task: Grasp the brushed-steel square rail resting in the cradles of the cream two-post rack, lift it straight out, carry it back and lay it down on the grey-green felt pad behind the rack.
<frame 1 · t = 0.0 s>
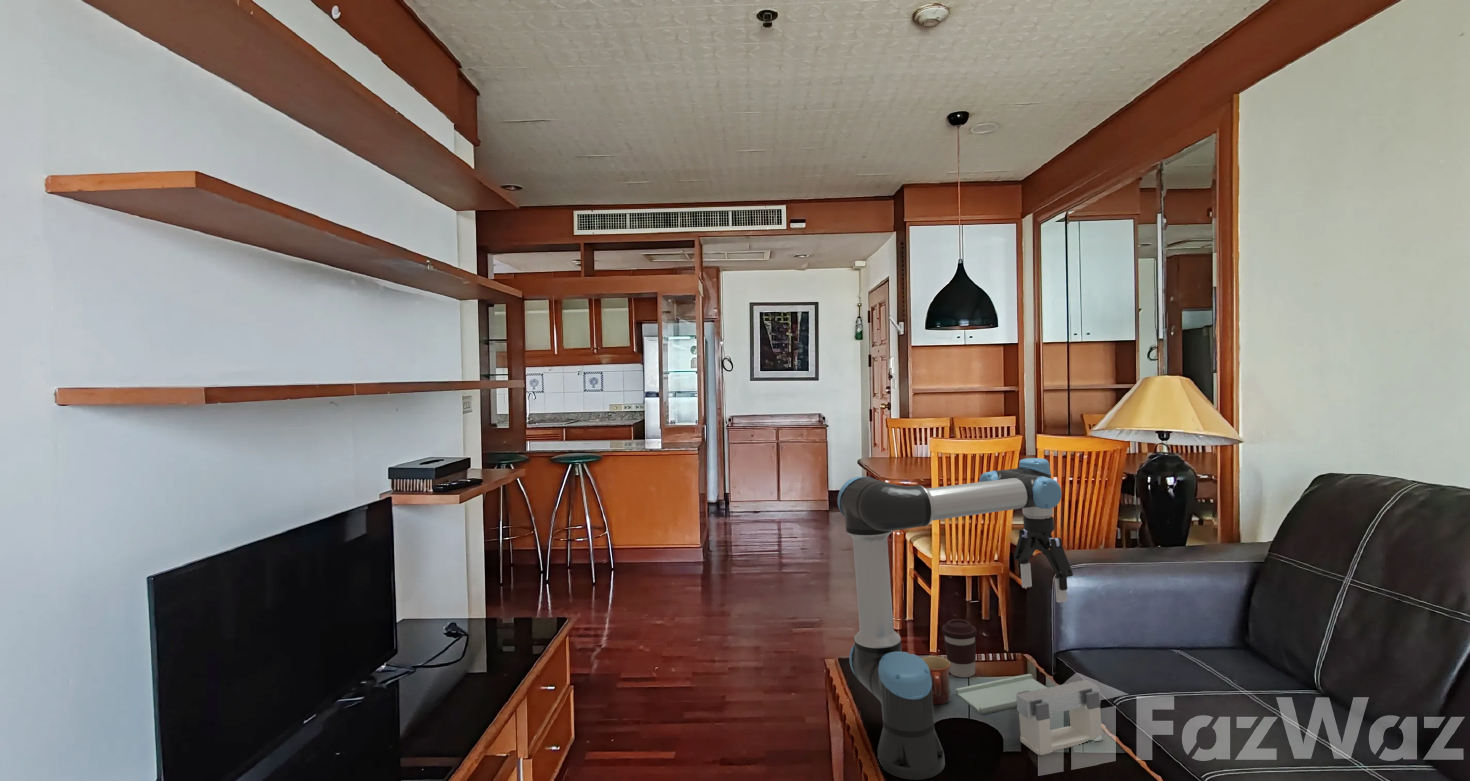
hand: (1043, 593, 177), 28 cm above the table, fingers open, 13 cm apart
rail: (1058, 706, 157), point 8 cm above the table, touching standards
coffee cup: (962, 673, 196), on the table
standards: (1061, 739, 157), on the table
pad: (1007, 695, 180), on the table
mug: (937, 702, 179), on the table
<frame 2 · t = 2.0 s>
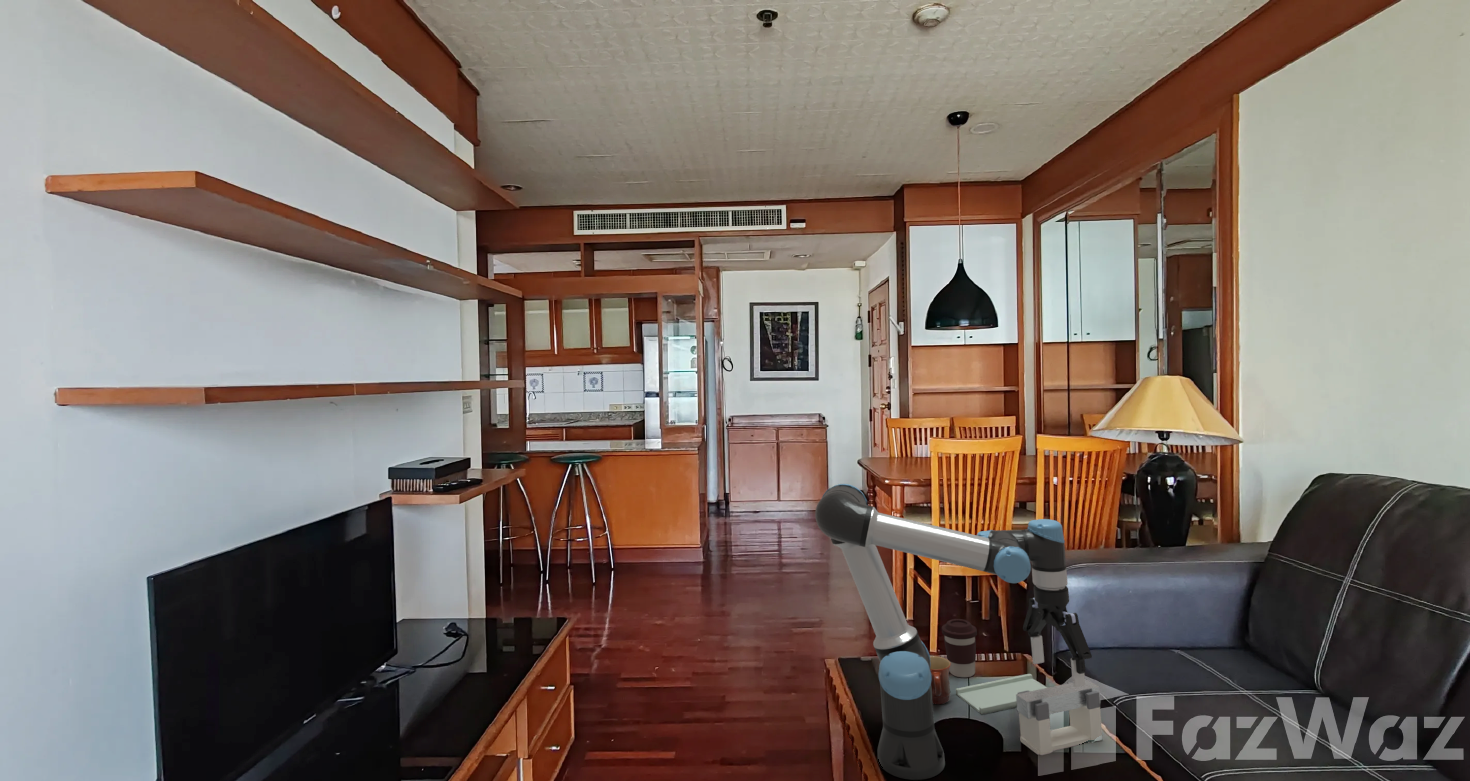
hand: (1058, 673, 157), 16 cm above the table, fingers open, 13 cm apart
nothing on the table moved.
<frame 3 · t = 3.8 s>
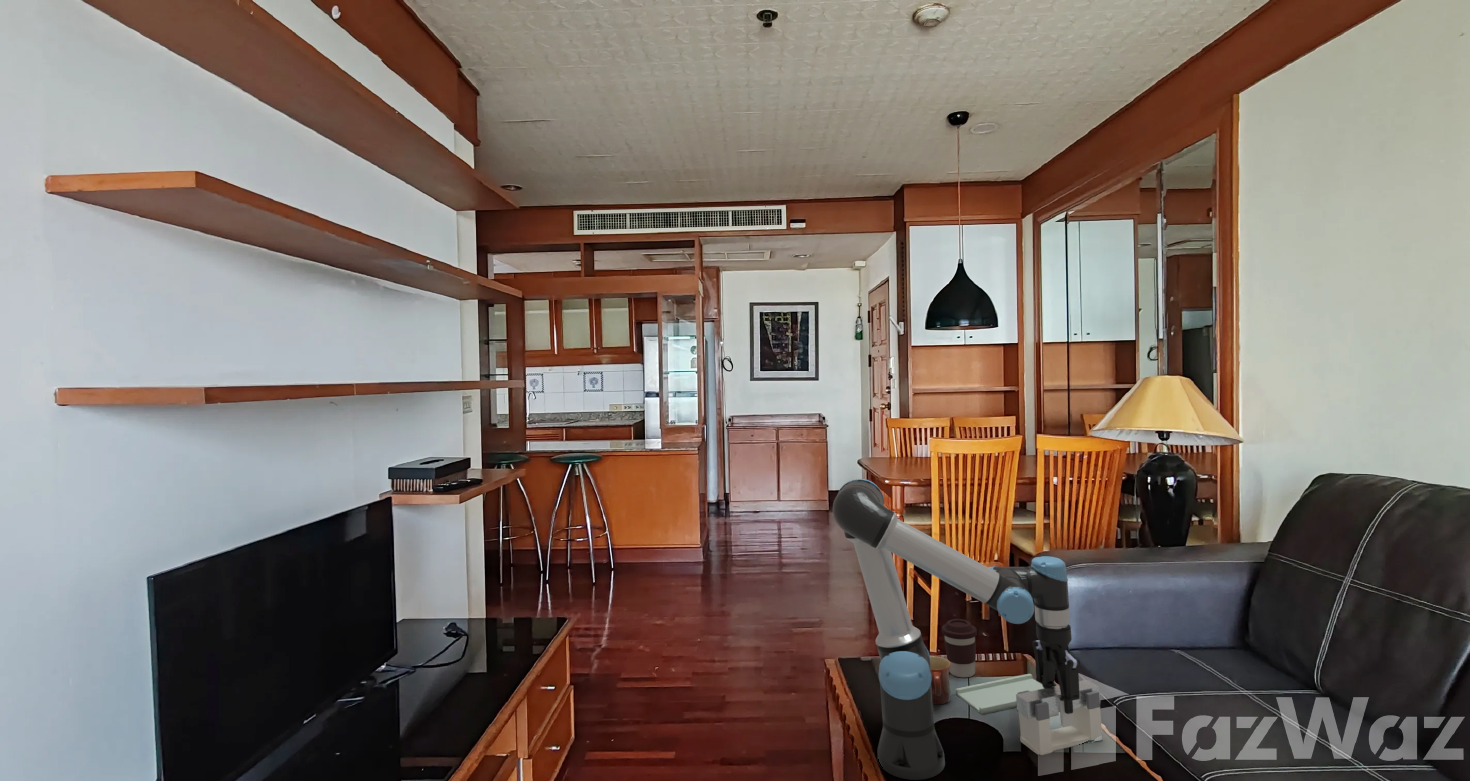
hand: (1059, 719, 157), 5 cm above the table, fingers closed on rail, 4 cm apart
rail: (1058, 706, 157), point 8 cm above the table, touching gripper, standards
everything else where it was.
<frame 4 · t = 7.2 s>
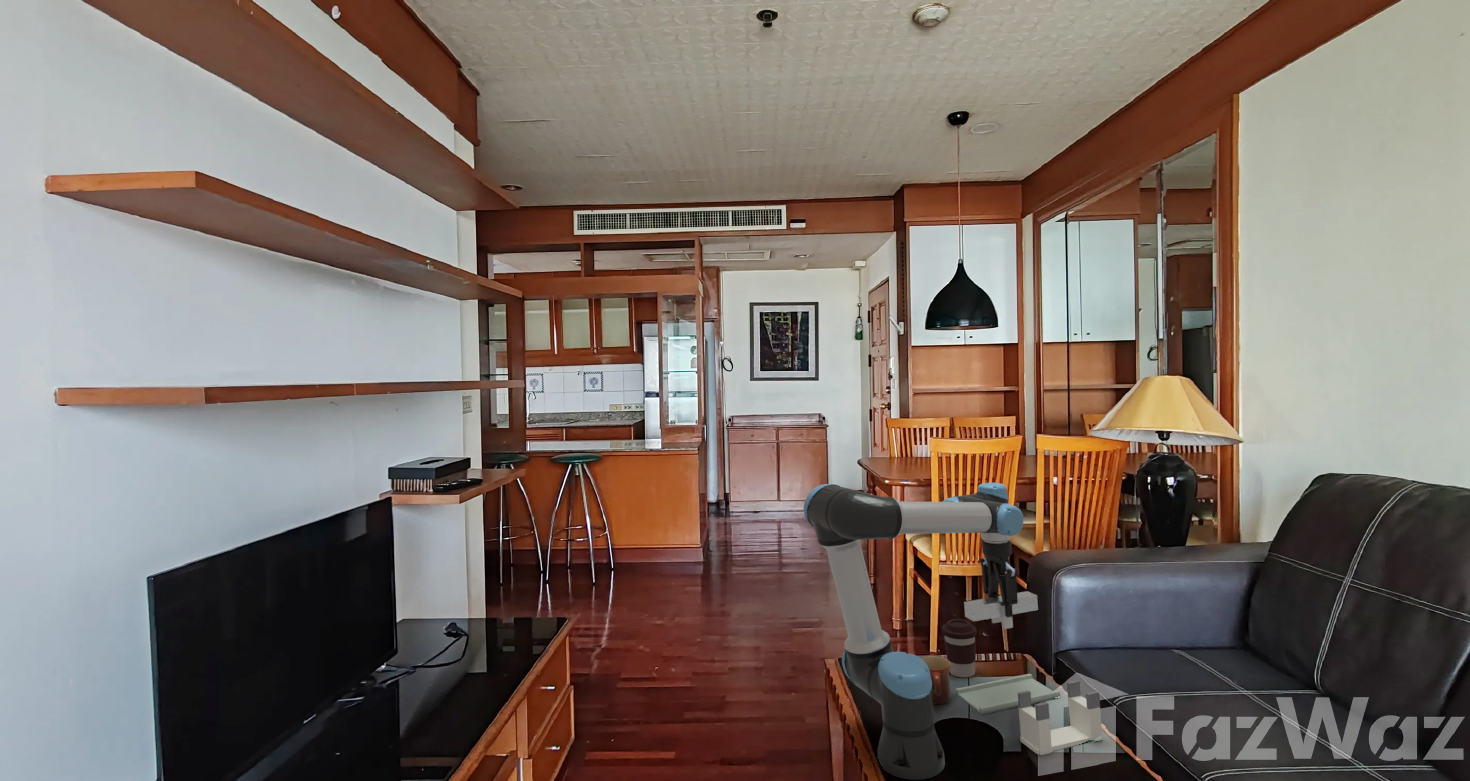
hand: (1002, 624, 180), 20 cm above the table, fingers closed on rail, 4 cm apart
rail: (1001, 613, 180), point 23 cm above the table, touching gripper
everything else where it was.
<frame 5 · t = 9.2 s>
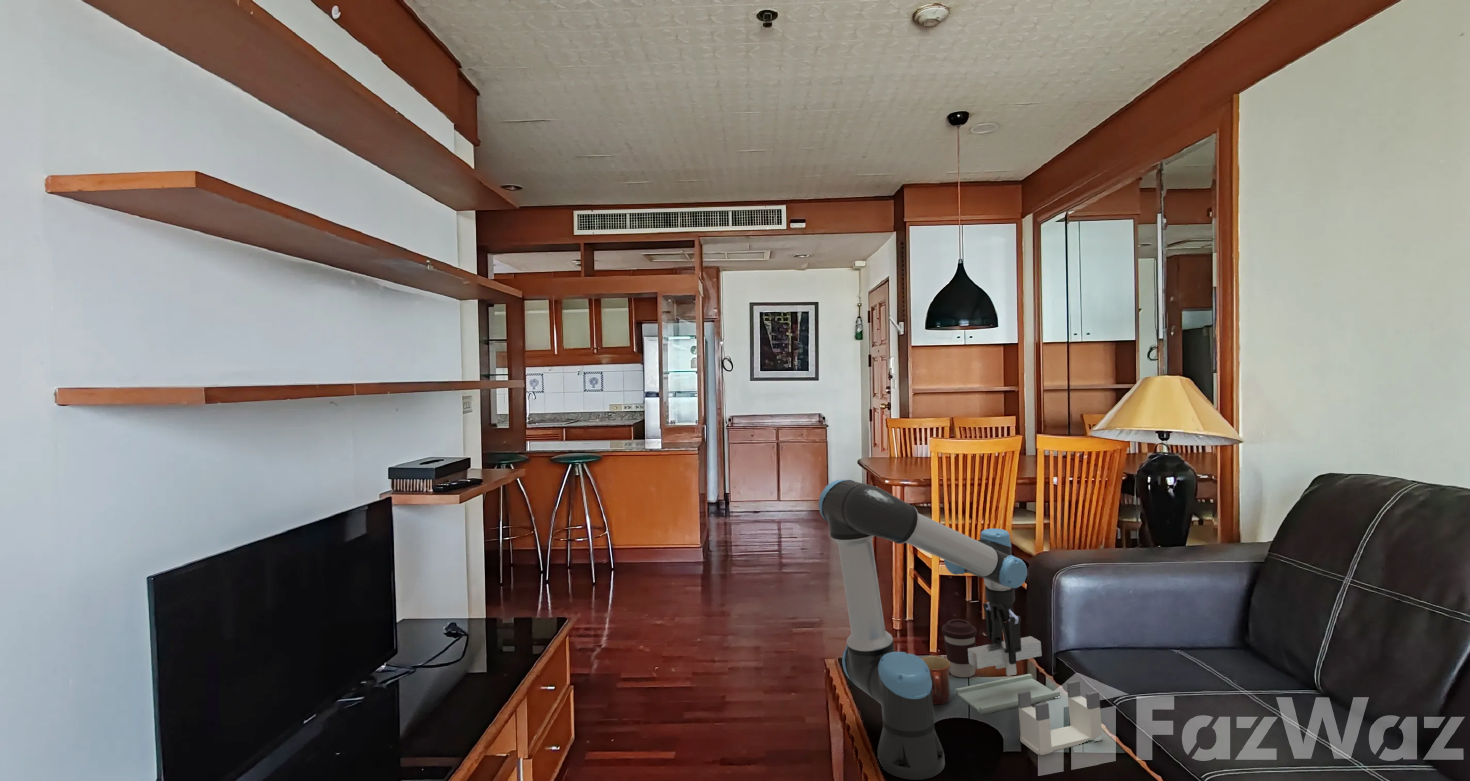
hand: (1005, 670, 180), 7 cm above the table, fingers closed on rail, 4 cm apart
rail: (1005, 659, 180), point 10 cm above the table, touching gripper
everything else where it was.
when the fingers open (1 cm above the table, at t = 10.7 s): rail drops 4 cm, resting on pad.
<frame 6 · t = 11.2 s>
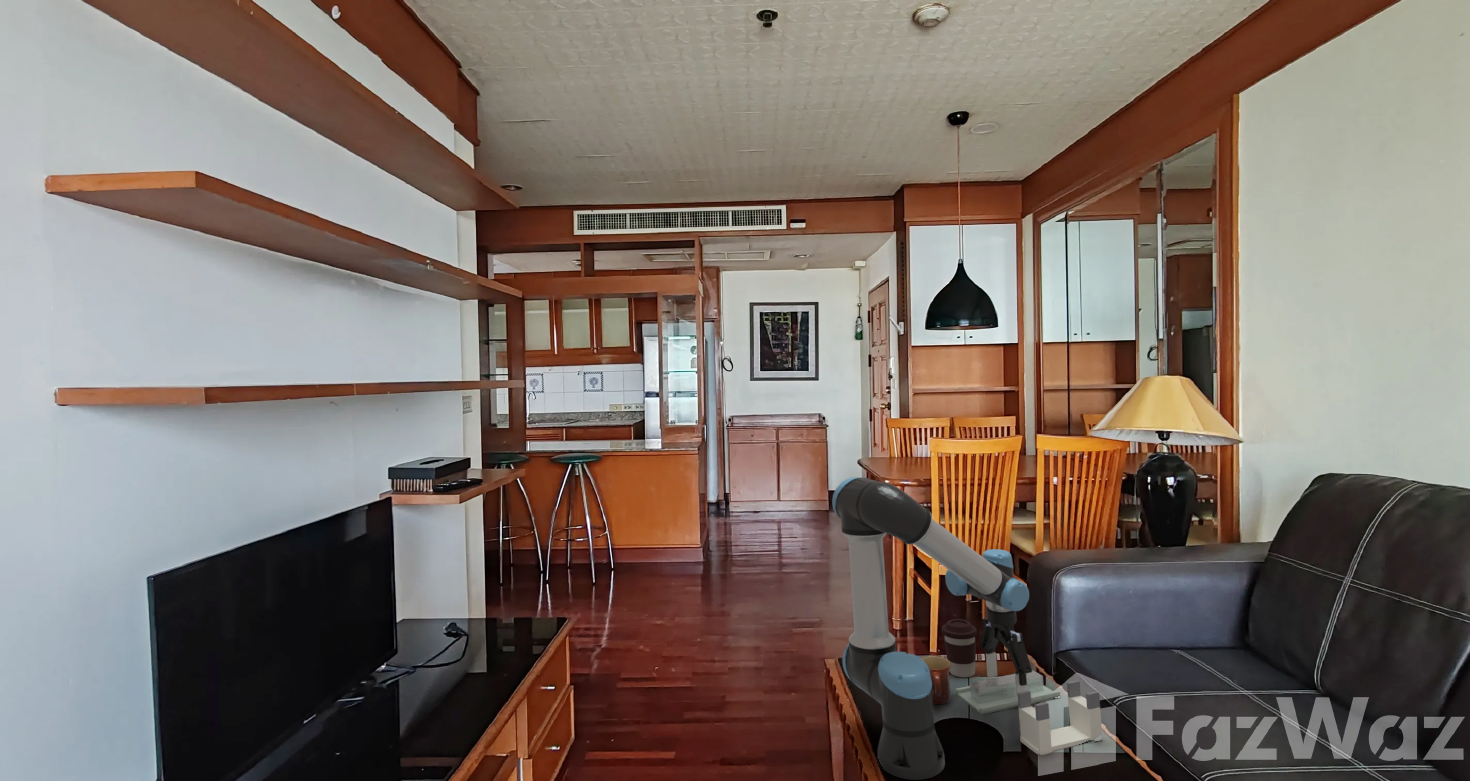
hand: (1006, 685, 180), 3 cm above the table, fingers open, 12 cm apart
rail: (1007, 693, 180), point 1 cm above the table, touching pad
everything else where it was.
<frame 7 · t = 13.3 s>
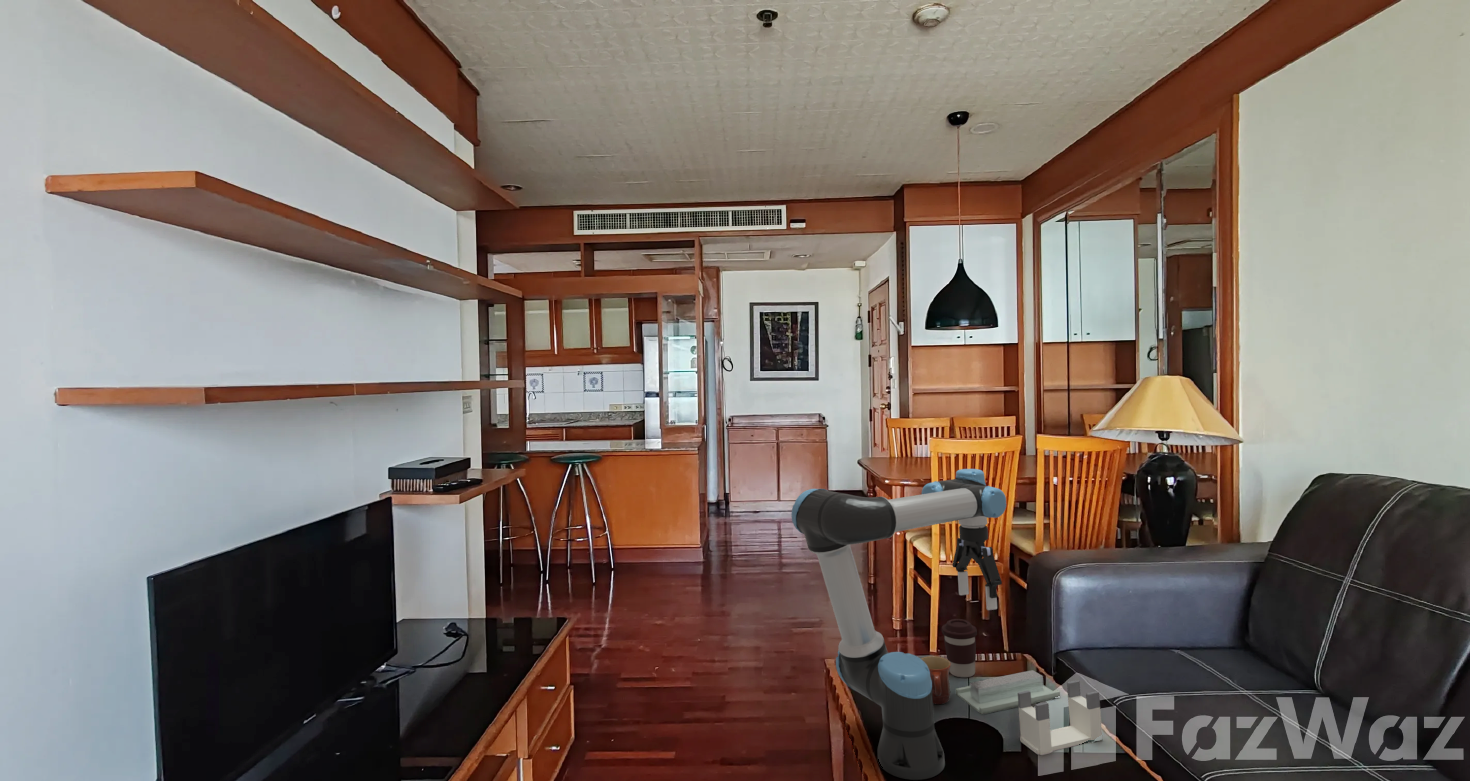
hand: (977, 601, 182), 26 cm above the table, fingers open, 13 cm apart
nothing on the table moved.
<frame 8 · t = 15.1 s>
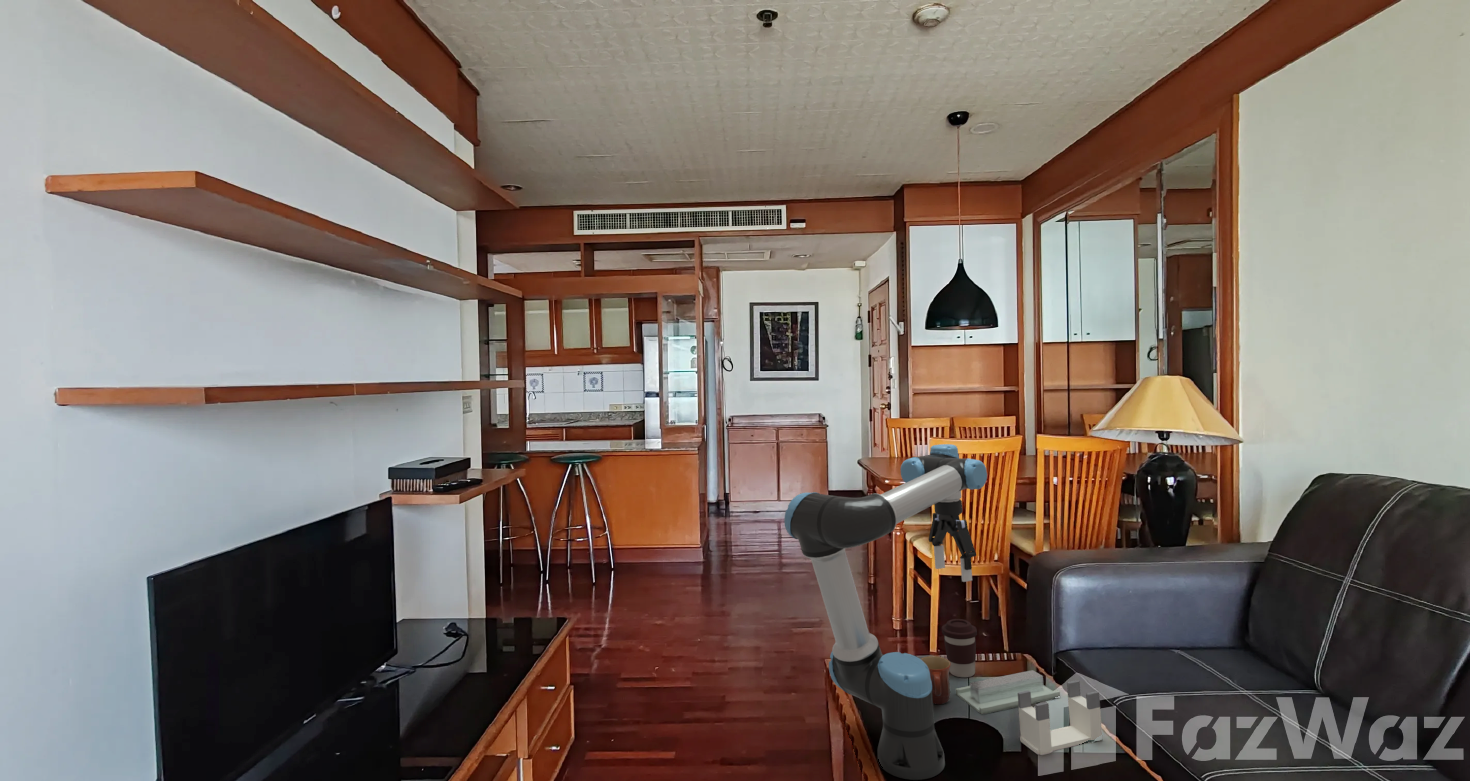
hand: (953, 574, 185), 33 cm above the table, fingers open, 13 cm apart
nothing on the table moved.
at the end: rail inside the target area on the pad (0.0 cm from its centre), point 0.6 cm above the pad's base; rail touching pad; the gripper is holding nothing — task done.
